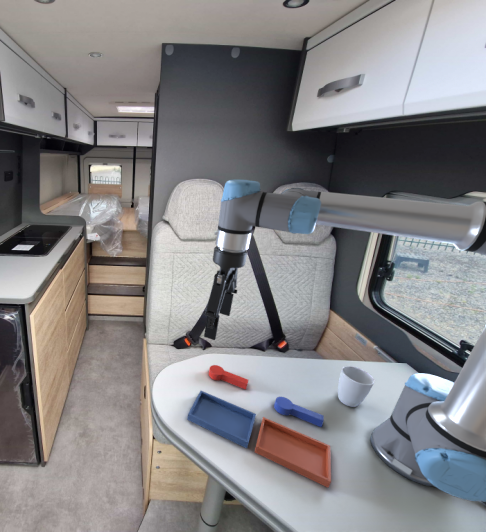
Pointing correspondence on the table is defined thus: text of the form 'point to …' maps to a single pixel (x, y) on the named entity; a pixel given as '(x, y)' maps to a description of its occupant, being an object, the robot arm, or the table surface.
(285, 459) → the red tray
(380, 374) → the table surface
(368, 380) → the cup
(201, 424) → the blue tray
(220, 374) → the red spoon
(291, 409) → the blue spoon
